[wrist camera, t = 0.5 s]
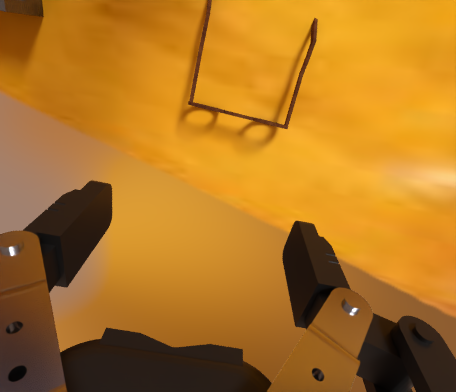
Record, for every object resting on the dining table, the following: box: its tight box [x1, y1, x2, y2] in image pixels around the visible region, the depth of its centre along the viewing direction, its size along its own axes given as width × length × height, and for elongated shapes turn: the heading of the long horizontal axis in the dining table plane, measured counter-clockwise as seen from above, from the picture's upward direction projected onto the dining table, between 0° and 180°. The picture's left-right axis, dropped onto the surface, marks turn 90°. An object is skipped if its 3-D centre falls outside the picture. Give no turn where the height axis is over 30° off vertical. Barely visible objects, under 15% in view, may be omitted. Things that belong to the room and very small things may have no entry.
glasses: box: [188, 0, 317, 129], centre depth 32 cm, size 13×13×5 cm
